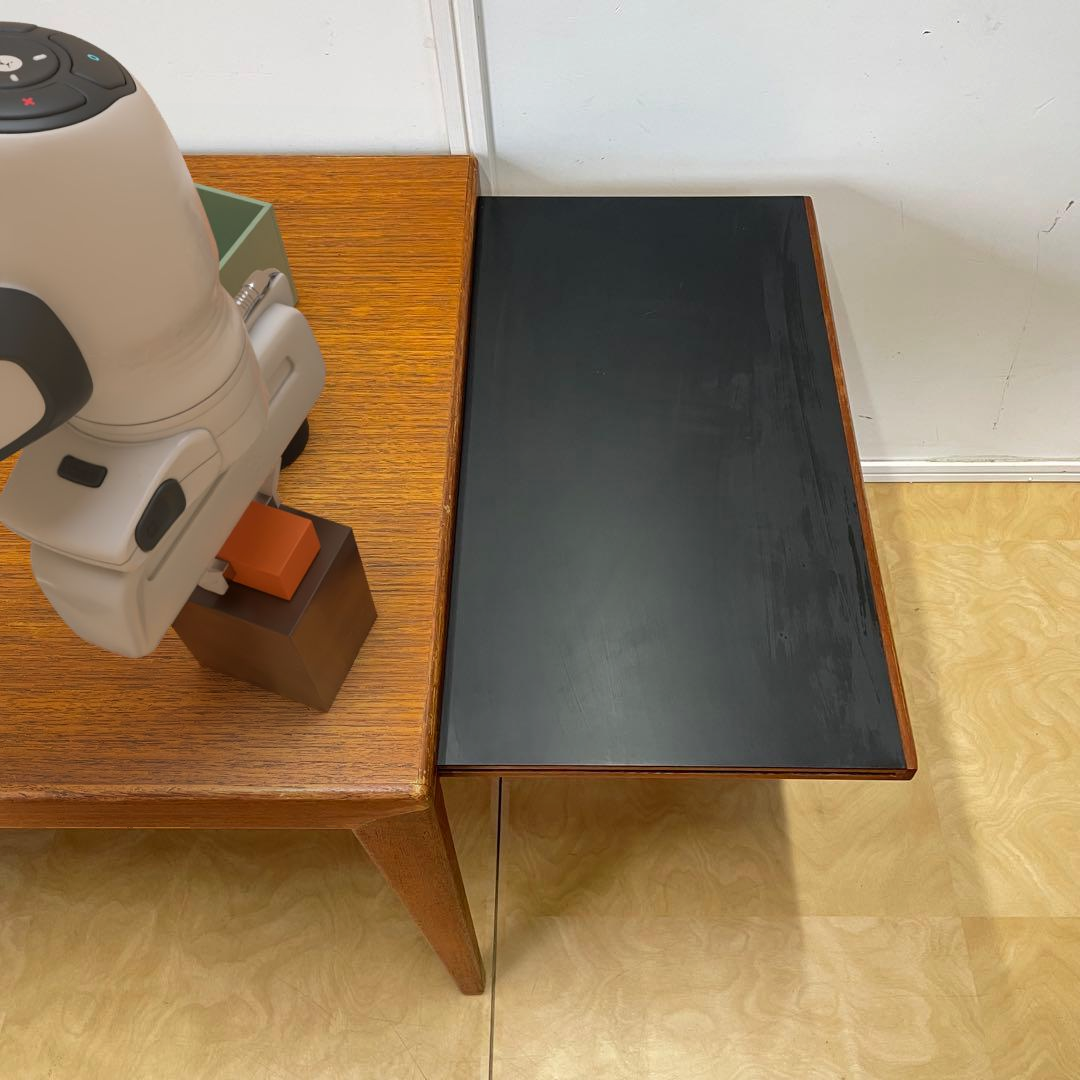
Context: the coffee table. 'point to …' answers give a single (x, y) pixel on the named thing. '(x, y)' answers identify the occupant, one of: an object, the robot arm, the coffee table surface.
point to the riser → (288, 624)
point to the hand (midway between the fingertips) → (242, 545)
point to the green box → (244, 237)
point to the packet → (270, 549)
